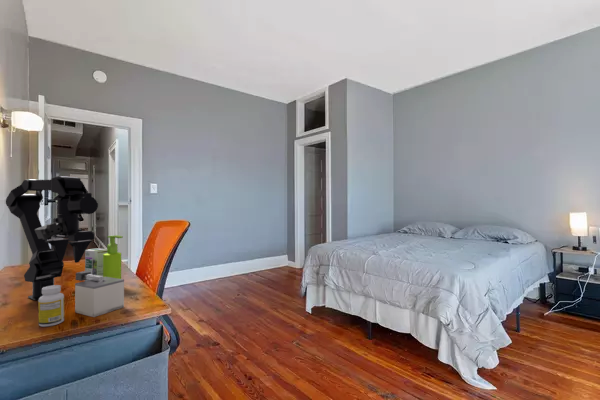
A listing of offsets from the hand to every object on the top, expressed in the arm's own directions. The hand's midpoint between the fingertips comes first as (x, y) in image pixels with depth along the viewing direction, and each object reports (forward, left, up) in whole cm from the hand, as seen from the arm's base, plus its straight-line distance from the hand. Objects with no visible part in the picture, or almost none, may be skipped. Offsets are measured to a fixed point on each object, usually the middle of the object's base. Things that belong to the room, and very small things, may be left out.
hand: (68, 261), depth 100 cm
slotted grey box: (+17, +1, -13) cm, 22 cm away
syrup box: (-11, +14, -13) cm, 22 cm away
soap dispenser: (-3, +16, -13) cm, 21 cm away
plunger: (+13, +1, -11) cm, 17 cm away
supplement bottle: (+17, -11, -13) cm, 24 cm away
